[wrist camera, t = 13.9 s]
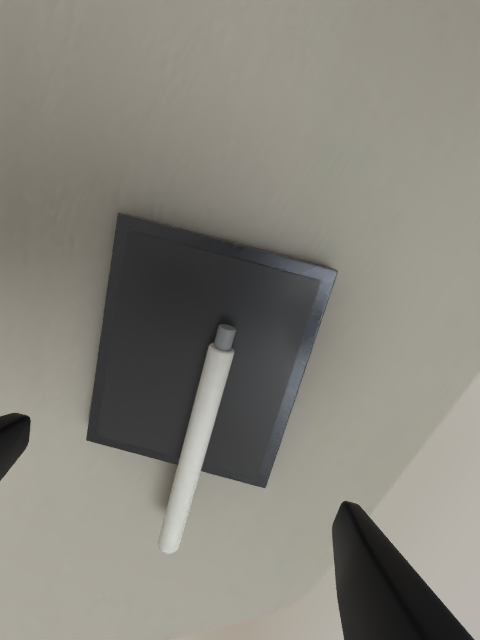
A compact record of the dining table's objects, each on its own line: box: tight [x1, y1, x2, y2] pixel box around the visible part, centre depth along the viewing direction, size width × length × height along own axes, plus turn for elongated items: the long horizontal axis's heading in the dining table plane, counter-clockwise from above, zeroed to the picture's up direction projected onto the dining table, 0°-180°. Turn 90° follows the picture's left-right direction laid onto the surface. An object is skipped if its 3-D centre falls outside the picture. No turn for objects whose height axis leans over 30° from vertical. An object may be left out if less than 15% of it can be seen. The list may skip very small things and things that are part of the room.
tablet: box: [86, 213, 338, 488], centre depth 16 cm, size 10×12×1 cm
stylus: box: [158, 324, 236, 554], centre depth 16 cm, size 1×1×13 cm
